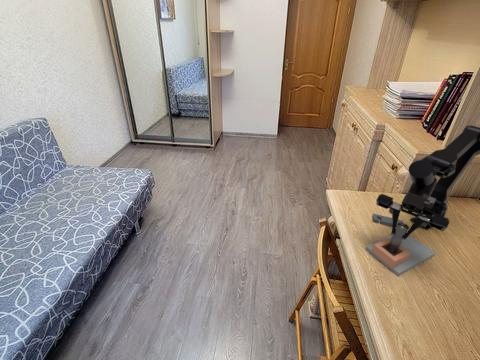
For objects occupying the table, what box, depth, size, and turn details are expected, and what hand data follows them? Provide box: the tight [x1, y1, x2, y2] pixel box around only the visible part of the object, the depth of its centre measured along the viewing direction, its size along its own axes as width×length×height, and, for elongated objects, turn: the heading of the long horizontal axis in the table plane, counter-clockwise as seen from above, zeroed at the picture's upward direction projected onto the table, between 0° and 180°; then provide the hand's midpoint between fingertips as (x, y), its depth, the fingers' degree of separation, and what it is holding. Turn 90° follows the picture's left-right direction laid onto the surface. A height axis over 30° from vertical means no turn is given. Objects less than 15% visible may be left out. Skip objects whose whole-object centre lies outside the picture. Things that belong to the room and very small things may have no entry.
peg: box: [387, 222, 410, 253], centre depth 80 cm, size 3×3×10 cm
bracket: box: [371, 213, 404, 228], centre depth 100 cm, size 4×10×2 cm, turn 68°
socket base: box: [364, 234, 437, 277], centre depth 86 cm, size 19×12×4 cm, turn 117°
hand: (397, 236), depth 78 cm, fingers closed on peg, 3 cm apart
